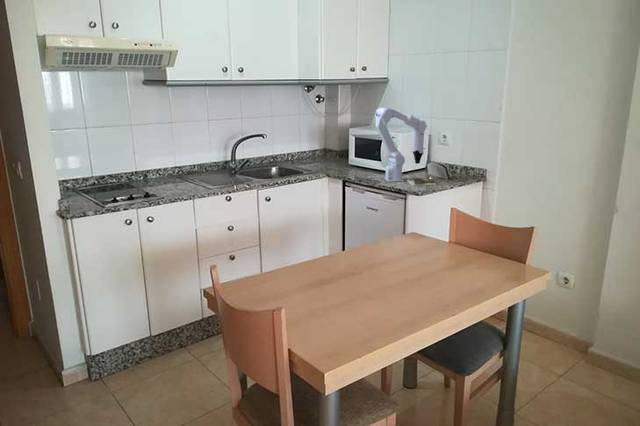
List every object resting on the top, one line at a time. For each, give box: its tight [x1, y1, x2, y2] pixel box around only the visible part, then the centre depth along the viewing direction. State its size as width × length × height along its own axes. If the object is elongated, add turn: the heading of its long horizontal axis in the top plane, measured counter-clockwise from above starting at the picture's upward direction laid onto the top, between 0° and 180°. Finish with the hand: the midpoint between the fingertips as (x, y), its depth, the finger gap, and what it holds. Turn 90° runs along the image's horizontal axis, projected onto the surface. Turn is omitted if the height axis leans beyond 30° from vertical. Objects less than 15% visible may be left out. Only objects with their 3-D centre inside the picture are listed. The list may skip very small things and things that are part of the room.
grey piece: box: [426, 161, 453, 180], centre depth 300 cm, size 17×5×10 cm, turn 29°
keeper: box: [412, 176, 422, 184], centre depth 278 cm, size 4×6×3 cm, turn 6°
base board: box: [406, 179, 437, 187], centre depth 282 cm, size 14×13×1 cm
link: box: [413, 178, 435, 183], centre depth 279 cm, size 12×4×2 cm, turn 94°
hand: (417, 163), depth 291 cm, fingers closed
